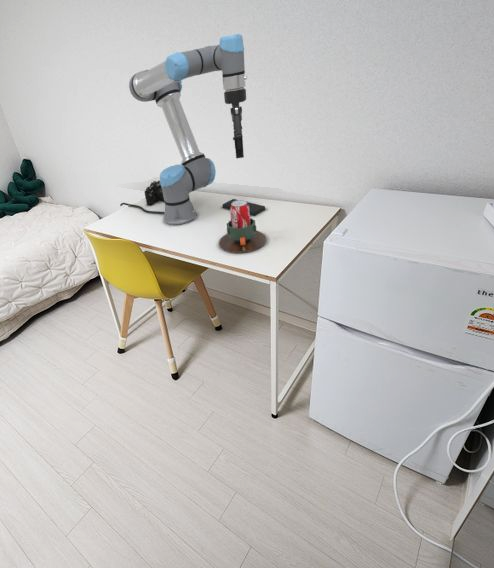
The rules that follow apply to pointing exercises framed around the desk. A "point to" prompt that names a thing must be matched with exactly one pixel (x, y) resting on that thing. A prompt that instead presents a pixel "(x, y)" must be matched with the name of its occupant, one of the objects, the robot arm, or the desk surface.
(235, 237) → the cup holder
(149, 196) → the film camera
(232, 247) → the holder base
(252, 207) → the smart home device
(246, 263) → the desk surface
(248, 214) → the soda can
